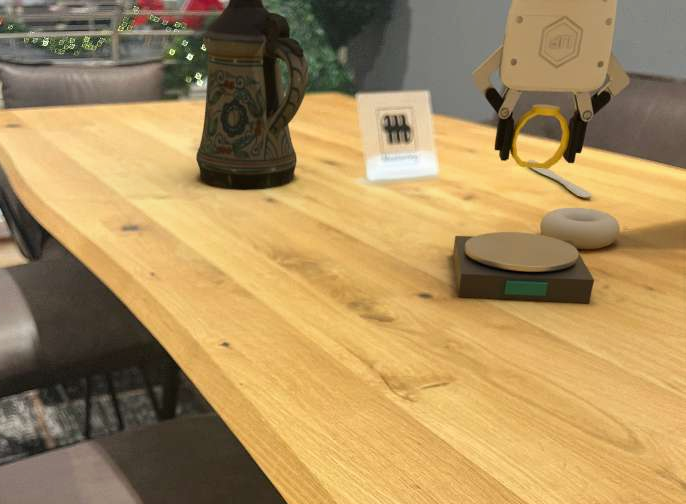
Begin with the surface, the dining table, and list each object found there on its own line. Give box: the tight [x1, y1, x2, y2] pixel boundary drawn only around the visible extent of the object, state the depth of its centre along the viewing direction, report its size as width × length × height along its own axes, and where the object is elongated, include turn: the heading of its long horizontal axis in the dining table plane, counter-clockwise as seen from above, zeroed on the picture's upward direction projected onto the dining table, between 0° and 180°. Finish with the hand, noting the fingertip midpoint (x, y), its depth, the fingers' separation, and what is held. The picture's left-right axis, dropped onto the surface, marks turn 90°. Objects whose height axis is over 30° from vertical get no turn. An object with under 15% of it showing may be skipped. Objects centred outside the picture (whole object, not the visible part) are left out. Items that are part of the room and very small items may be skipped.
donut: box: [539, 207, 621, 250], centre depth 100 cm, size 10×4×10 cm
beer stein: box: [195, 0, 309, 190], centre depth 120 cm, size 16×19×25 cm
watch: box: [510, 103, 570, 169], centre depth 80 cm, size 6×3×6 cm, turn 94°
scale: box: [452, 235, 595, 304], centre depth 87 cm, size 14×14×3 cm
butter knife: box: [527, 159, 593, 199], centre depth 129 cm, size 1×27×3 cm
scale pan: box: [465, 231, 580, 272], centre depth 87 cm, size 13×13×1 cm
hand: (536, 157), depth 81 cm, fingers closed on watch, 6 cm apart
